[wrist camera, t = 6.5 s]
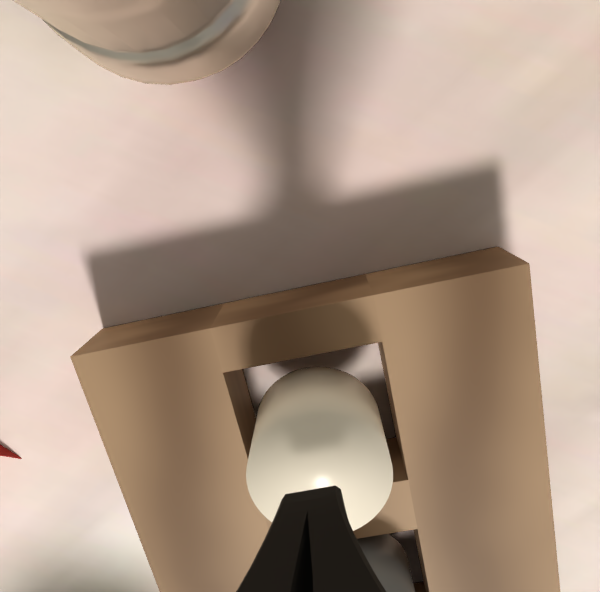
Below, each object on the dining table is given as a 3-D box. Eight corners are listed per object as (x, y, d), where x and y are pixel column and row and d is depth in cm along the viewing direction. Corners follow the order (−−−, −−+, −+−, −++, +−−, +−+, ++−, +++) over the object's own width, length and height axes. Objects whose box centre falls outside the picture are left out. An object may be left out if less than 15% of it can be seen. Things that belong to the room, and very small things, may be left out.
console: (498, 246, 17) (529, 263, 14) (549, 712, 23) (577, 778, 20) (102, 328, 18) (70, 356, 16) (252, 750, 24) (245, 817, 22)
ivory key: (367, 356, 16) (379, 399, 13) (389, 464, 17) (404, 525, 14) (244, 379, 16) (229, 427, 13) (272, 484, 17) (265, 547, 14)
